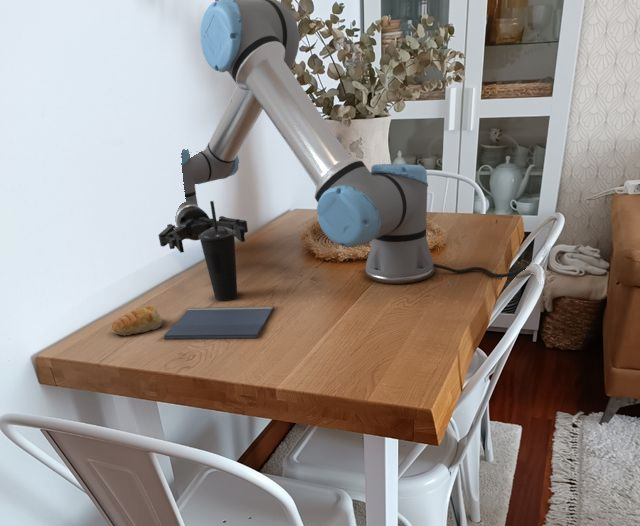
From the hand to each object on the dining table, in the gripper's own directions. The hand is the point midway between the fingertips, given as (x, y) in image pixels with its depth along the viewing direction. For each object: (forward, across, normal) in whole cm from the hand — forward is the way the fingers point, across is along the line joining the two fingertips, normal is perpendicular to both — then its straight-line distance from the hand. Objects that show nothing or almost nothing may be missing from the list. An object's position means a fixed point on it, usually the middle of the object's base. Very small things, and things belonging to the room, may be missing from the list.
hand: (212, 240), depth 133 cm
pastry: (+14, +20, -11) cm, 27 cm away
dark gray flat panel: (+20, +5, -11) cm, 23 cm away
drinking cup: (+6, 0, -11) cm, 12 cm away
